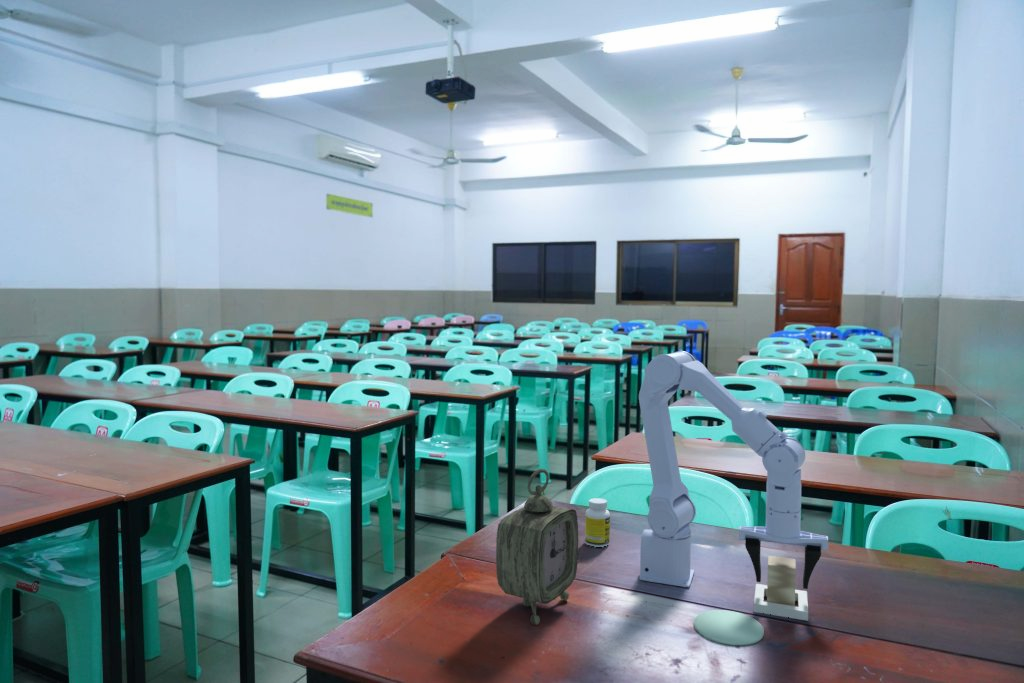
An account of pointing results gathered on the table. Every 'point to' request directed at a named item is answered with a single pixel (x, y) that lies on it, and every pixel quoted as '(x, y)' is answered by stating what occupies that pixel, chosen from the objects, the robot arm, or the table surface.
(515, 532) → the tabletop clock
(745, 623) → the coaster
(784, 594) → the maple block
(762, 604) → the frame
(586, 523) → the supplement bottle
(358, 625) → the table surface
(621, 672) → the table surface
